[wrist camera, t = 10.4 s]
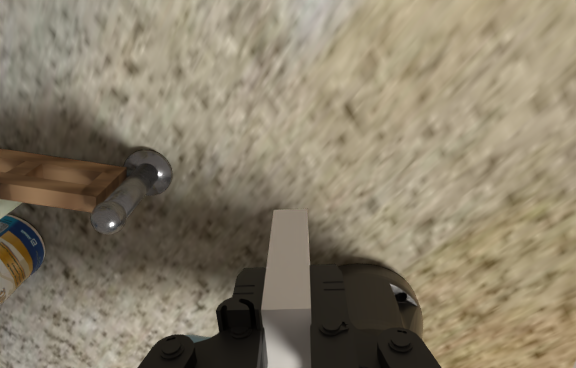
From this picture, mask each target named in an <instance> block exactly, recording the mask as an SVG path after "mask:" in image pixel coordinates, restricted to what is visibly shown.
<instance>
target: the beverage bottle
mask: <svg viewBox="0 0 576 368" xmlns="http://www.w3.org/2000/svg"><path fill="white" fill-rule="evenodd" d="M44 258H45V245H44V242H43V240H42V238H41V236H40V234H39V233H38V232H37V231H36V229H35V228H34V227H33V226H31V225H30V224H29V223H27V222H26V221H24V220H22V219H20V218H18V217H16V216H12V215H8V214H7V215H5V216H4V217H2V218H1V219H0V305H1V304H2V303H3V302H4V301H5V300H6V299H7V298H8V297H9V296H10V295H11V294H12V293H13V292H14V291H15V290H16V289H17V288H18V287H19V286H20V285H21V284H22V283H23V282H24V281H25V280H26V279H27V278H28V277H29V276H30V275H32V274H33V273H34V272H35V271H36V270H37V269H38V268H39V267H40V266H41V264H42V263H43V261H44Z"/></svg>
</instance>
